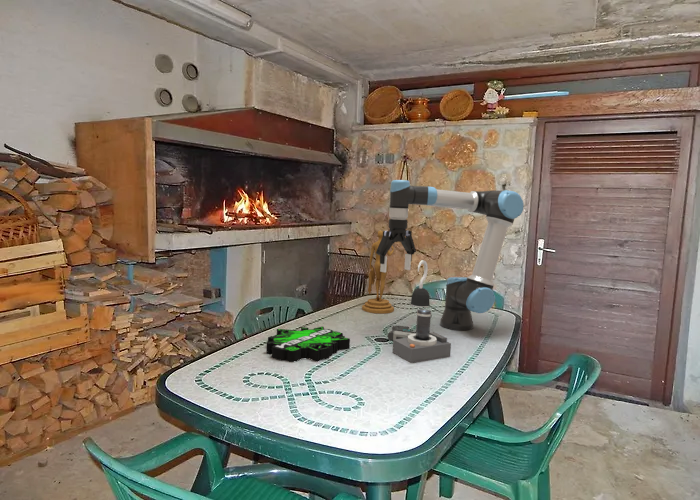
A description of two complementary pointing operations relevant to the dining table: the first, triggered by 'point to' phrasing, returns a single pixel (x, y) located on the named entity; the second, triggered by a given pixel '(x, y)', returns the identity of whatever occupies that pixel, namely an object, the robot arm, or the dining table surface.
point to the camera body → (422, 348)
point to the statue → (378, 283)
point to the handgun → (399, 332)
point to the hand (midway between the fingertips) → (395, 270)
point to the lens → (423, 324)
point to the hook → (421, 290)
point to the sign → (306, 344)
